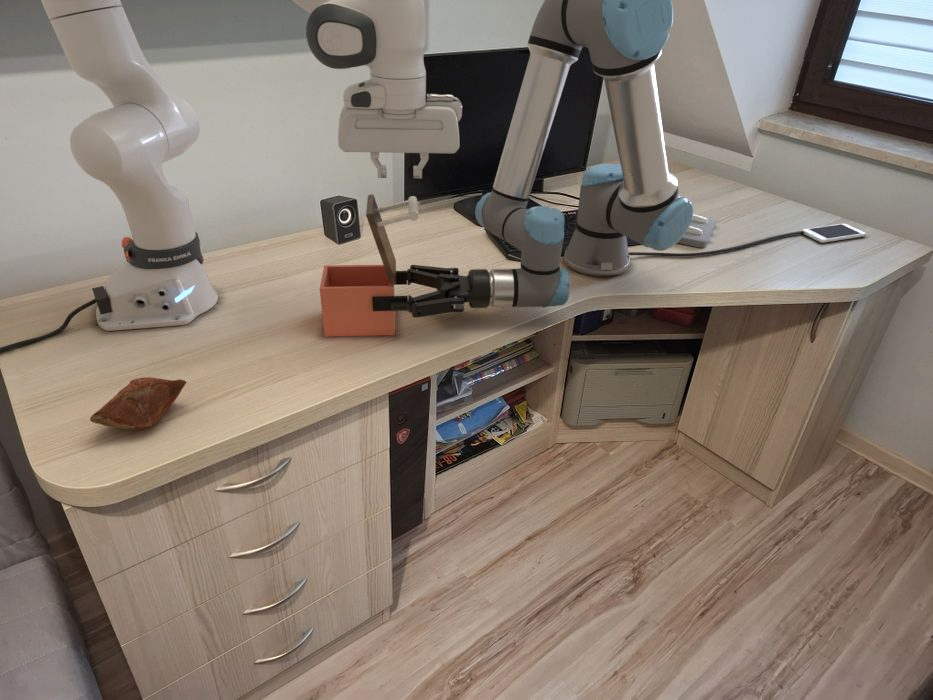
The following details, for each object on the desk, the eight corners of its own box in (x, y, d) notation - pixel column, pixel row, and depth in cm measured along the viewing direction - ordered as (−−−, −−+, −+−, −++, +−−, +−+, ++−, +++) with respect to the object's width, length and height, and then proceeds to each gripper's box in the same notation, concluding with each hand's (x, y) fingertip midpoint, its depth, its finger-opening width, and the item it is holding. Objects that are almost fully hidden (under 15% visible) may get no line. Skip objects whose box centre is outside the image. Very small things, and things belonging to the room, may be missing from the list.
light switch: (708, 237, 159) (646, 224, 164) (705, 248, 160) (644, 236, 166) (717, 213, 172) (660, 202, 178) (714, 224, 174) (658, 213, 179)
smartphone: (800, 232, 171) (801, 229, 171) (843, 226, 176) (844, 222, 176) (821, 243, 166) (822, 239, 165) (865, 236, 171) (866, 232, 170)
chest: (324, 336, 121) (319, 288, 116) (328, 311, 129) (324, 265, 123) (395, 335, 123) (393, 287, 117) (395, 310, 131) (393, 264, 125)
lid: (365, 214, 109) (414, 202, 108) (367, 195, 117) (412, 183, 116) (390, 285, 117) (435, 273, 116) (390, 262, 124) (433, 251, 124)
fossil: (192, 375, 104) (155, 351, 95) (202, 420, 100) (164, 400, 91) (121, 406, 104) (76, 386, 95) (128, 452, 100) (83, 436, 91)
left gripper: (461, 90, 106) (458, 171, 114) (336, 87, 104) (342, 170, 112) (464, 99, 101) (461, 183, 109) (333, 96, 99) (339, 182, 107)
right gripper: (495, 335, 117) (372, 338, 115) (481, 279, 136) (375, 281, 133) (497, 299, 113) (370, 302, 111) (483, 246, 131) (373, 248, 129)
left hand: (400, 177), depth 111 cm, fingers open, 5 cm apart
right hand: (373, 290), depth 122 cm, fingers closed on chest, 9 cm apart
